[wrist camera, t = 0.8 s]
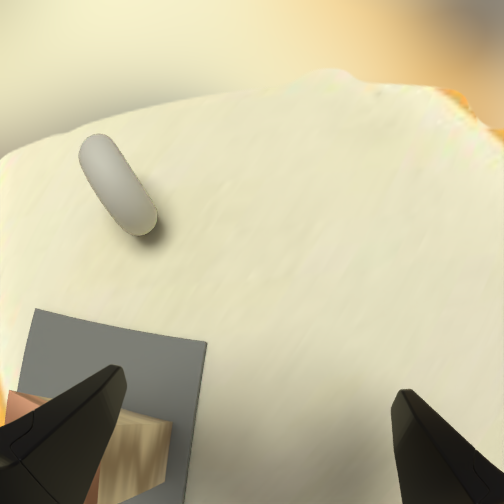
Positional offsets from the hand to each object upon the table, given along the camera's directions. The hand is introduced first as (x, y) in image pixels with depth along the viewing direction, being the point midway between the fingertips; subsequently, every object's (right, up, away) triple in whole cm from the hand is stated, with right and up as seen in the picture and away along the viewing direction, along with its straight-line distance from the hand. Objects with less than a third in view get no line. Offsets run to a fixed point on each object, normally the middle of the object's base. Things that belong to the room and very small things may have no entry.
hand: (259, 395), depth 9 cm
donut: (-11, +8, +21) cm, 25 cm away
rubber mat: (-14, -10, +12) cm, 21 cm away
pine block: (-9, -10, +11) cm, 17 cm away
